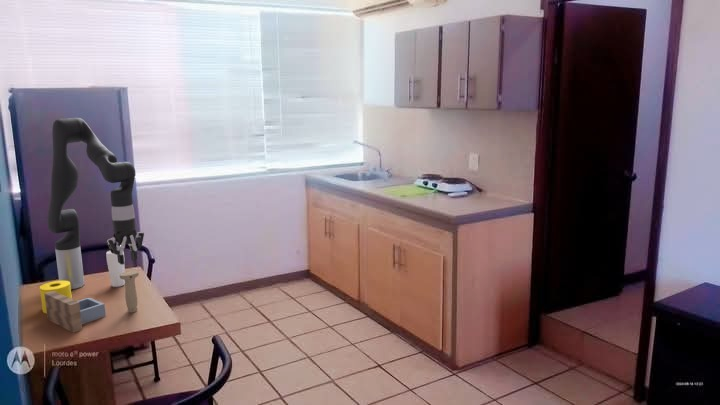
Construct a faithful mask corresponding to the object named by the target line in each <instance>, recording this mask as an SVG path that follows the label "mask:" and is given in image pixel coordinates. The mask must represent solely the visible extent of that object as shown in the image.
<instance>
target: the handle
mask: <svg viewBox="0 0 720 405" xmlns="http://www.w3.org/2000/svg"><path fill="white" fill-rule="evenodd" d="M137 277H139V271H138V270H130V271H125V272H123V273H121V274H120V278H121V279H123V280H125V284H124V288H125V289H124V294H125V303H126V304H125V305H126V309H127V312H128V313H135V312H136V311H137V312H138V294H137V289H136V281H135V280H136V278H137Z"/></svg>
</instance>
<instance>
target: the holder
mask: <svg viewBox="0 0 720 405" xmlns="http://www.w3.org/2000/svg"><path fill="white" fill-rule="evenodd" d="M76 301H77V302H79V305H80V313H81V322H82V325H83V324H86V323H90V322H92V321H95V320H98V319H100V318H101V319H102V318H104V317H106V316H107V315H106V314H107V313H106V306H105V305H106V304H105V303H103V302H101V301H99V300H97V299H94V298H92V297H87V298H83V299H80V300H76Z"/></svg>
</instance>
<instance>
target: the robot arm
mask: <svg viewBox="0 0 720 405" xmlns="http://www.w3.org/2000/svg"><path fill="white" fill-rule="evenodd" d="M51 133H52V134H51V135H52V151H53V152H52V153H53V154H52V169H51V177H50V178H51V180H50V182H51V183H50V186H51V187H50V201H49V206H48V210H47V211H48V212H47V218H46V219H47V220H46V221H47V222H46V224H47V229H48V231H49V232H50V233H52V234H61V233H65V235H64V236H63V237H61V238H59V239H58V240H56V241H55V242H54V250H55V256H56V259H55V260H56V265H57V266H56V267H57V274H58V275H57V276H58V281H69V282H70V286H71V290H76V289H80V288H83V286H84V285H85V277H84V269H83V268H84V267H83V258H82V251H81V250H82V249H81V242H80V241H81V233H80V220H79V219H80V218H79V215H78V213H77V211H76V210H75V209H74V208H68V209H63V207H64V205H65V204H66V203H67V201H68V200H69V199H70V198H71V196H73V194H74V192H75V191H76V190H77V187H78V185H79V169H78V167H77V166H76V164H75V162H73V160H72V159H71V158H70V155H69V154H68V151H67V150H68V149H67V148H68V147H67V146H68V144H71V143H72V144H74V143H80V142H83V143H85V144H86V149H85V150H86V155H87V157H88V159H89V160H90V161H91V162H92V163H93V164H94V165H95V166H96V167H97V168H98V169H99V171H100V173H101V175H102V177H103V179H104V180H105V181H106V182H107V183H110V184H116V183H120V184H119V186H118V187H117V188H114V189H112V190H111V191H110V202H111V203H110V204H111V220H112V221H111V222H112V230H113V235H112V237H111V238H107V239H106V240H105V241H106V244H107V246H108V249H109V251H111V253H113V254H116V255H117V257H118V263H120V264H122V265H123V264H124V260H125V254H124V255H123V251H124V250H125V248H126V245H128V246H129V248H130V259H131V261H132V262H136V261H137V260H138V253H137V251H138V250H140V249H142V246H143V242H144V236H145V233H144V232H141V231H137V229H136V227H137V226H136V216H135V215H136V213H135V208H134V203H133V202H134V201H133V188H134V184H135V183H134V182H135V178H136V169H135V167H134V164H133V163H132V162H129V161H119V162H118V158H117V157H116V155H115V154H114V153H113V152H112V151H111V150H109V149H108V147H106V146H105V145H104V144H103V143H102V142H101V140H100V139H99V137H97V135H96V134H95V133H94V131H93V130H92V129H91V127H90V126H89V124H88V123H87V122H86V121H85V120H84V119H83V118H80V117H65V118H59V119H55V121H53V124H52V132H51ZM135 238H136V240H135ZM115 242H116V243H115ZM115 244H116V245H115Z"/></svg>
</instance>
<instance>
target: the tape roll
mask: <svg viewBox="0 0 720 405" xmlns="http://www.w3.org/2000/svg"><path fill="white" fill-rule="evenodd" d="M51 291H55V292H57V293H59V294H61V295H64V296H66V297H68V298H70V299H73V296H72V289H71V286H70V282H69V281H59V280H54V281H50V282H46V283H43V284H41V285H40V286H39V293H40V300H41V301H40V302H41V308H42V312H43V313H44V314H47V310H46V302H45V295H44V293H47V292H51Z"/></svg>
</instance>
